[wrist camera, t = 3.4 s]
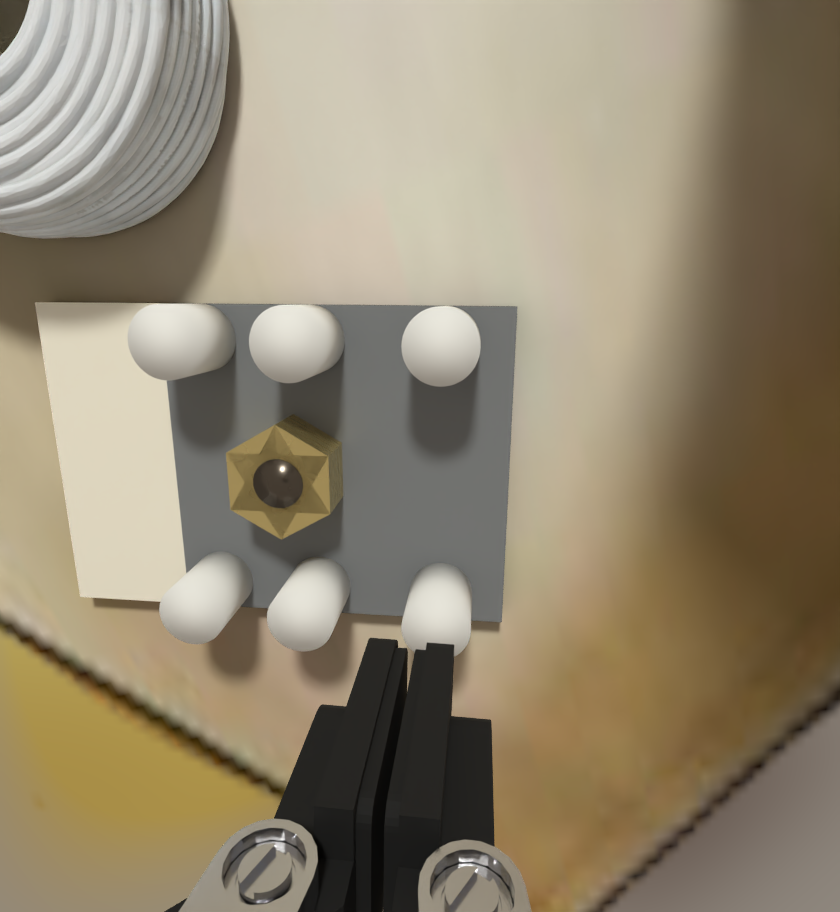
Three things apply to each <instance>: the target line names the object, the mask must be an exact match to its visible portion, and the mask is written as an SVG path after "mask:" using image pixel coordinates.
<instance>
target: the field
mask: <svg viewBox="0 0 840 912" xmlns="http://www.w3.org/2000/svg"><path fill="white" fill-rule="evenodd" d="M35 307H36V313H37V320H38V326H39V333H40V339H41V346H42V352H43V359H44V365H45V372H46V378H47V384H48V391H49V397H50V404H51V410H52V417H53V423H54V430H55V436H56V443H57V449H58V456H59V462H60V469H61V475H62V481H63V488H64V494H65V501H66V507H67V514H68V520H69V527H70V533H71V540H72V546H73V553H74V559H75V565H76V572H77V578H78V585H79V591H80V597H91V598H108V599H124V600H141V601H157V602H160V607H159V612H160V617H161V620H162V622H163V625H164V626H165V628H166V629H167V630H168V631H169V632H170V633H171V634H172V635H173V636H174V637H176V638H177V639H179V640H181V641H183V642H186V643H190V644H203V643H207V642H209V641H211V640H213V639H214V638H215V637H216V636H217V635H218V634H219V633H220V632H221V631H222V629H223V628H224V627H225V625H226V624H227V623H228V622H229V620H230V619H231V618H232V617H233V615H234V614H235V613H236V612H237V610H238V609H239V608H240V607H256V608H269V609H268V612H267V623H268V627H269V629H270V631H271V633H272V635H273V636H274V637H275V639H276V640H277V641H278V642H280V643H281V644H282V645H284V646H285V647H287V648H289V649H292V650H296V651H312V650H315V649H318V648H320V647H321V646H323V645H324V644H325V643H326V642H327V641H328V640H329V638H330V636H331V634H332V632H333V630H334V628H335V625H336V623H337V621H338V619H339V617H340V614H341V613H356V614H372V615H389V616H403V620H402V625H401V631H402V636H403V639H404V641H405V643H406V644H407V646H408V647H409V648H410V649H411V650H412V651H413V652H414V653H415V650H416V649H420V650H426V645H427V642H428V643H441V644H454V656H456V655H458V654H459V653H461V652H462V651H463V650H464V648H465V647H466V646H467V644H468V642H469V639H470V634H471V621H488V622H502V605H503V585H504V565H505V545H506V524H507V504H508V484H509V464H510V444H511V423H512V403H513V383H514V363H515V343H516V322H517V307H516V306H408V305H299V304H190V303H82V302H35ZM292 414H294V415H296V416H298V417H299V418H301V419H303V420H304V421H306V422H308V423H309V424H311V425H313V426H314V427H316V428H318V429H319V430H321V431H323V432H325V433H326V434H328V435H330V436H331V437H333V438H335V439H336V440H338V441H340V442H341V443H342V466H343V497H342V498H341V500H340V501H339V503H338V504H337V505H336V507H335V508H334V510H333V511H332V512H331V514H330V515H328V516H326V517H324V518H322V519H320V520H318V521H316V522H314V523H312V524H310V525H308V526H307V527H305V528H303V529H301V530H299V531H297V532H295V533H293V534H291V535H289V536H287V537H285V538H283V539H282V540H281V539H280V538H278V537H276V536H274V535H273V534H271V533H269V532H268V531H266V530H264V529H262V528H261V527H259V526H257V525H256V524H254V523H252V522H250V521H249V520H247V519H245V518H244V517H242V516H240V515H238V514H237V513H235V512H233V511H232V510H230V499H229V486H228V473H227V461H226V453H227V452H228V451H230V450H232V449H233V448H235V447H237V446H238V445H240V444H242V443H244V442H245V441H247V440H249V439H251V438H252V437H254V436H256V435H258V434H259V433H261V432H263V431H265V430H266V429H268V428H270V427H272V426H273V425H275V424H277V423H278V422H280V421H282V420H284V419H285V418H287V417H289V416H291V415H292Z"/></svg>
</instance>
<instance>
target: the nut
mask: <svg viewBox="0 0 840 912" xmlns="http://www.w3.org/2000/svg"><path fill="white" fill-rule="evenodd" d="M226 461H227V473H228V486H229V499H230V510H232V511H233V512H235V513H237V514H238V515H240V516H242V517H244V518H245V519H247V520H249V521H250V522H252V523H254V524H256V525H257V526H259V527H261V528H262V529H264V530H266V531H268V532H269V533H271V534H273V535H274V536H276V537H278V538H280V539H281V540H282V539H283V538H285V537H287V536H289V535H291V534H293V533H295V532H297V531H299V530H301V529H303V528H305V527H307V526H308V525H310V524H312V523H314V522H316V521H318V520H320V519H322V518H324V517H326V516H328V515H330V514H331V512H332V511H333V510H334V508H335V507H336V505H337V504H338V503H339V501H340V500H341V498H342V497H343V466H342V443H341V442H340V441H338V440H336V439H335V438H333V437H331V436H330V435H328V434H326V433H325V432H323V431H321V430H319V429H318V428H316V427H314V426H313V425H311V424H309V423H308V422H306V421H304V420H303V419H301V418H299V417H298V416H296V415H294V414H292V415H291V416H289V417H287V418H285V419H284V420H282V421H280V422H278V423H277V424H275V425H273V426H272V427H270V428H268V429H266V430H265V431H263V432H261V433H259V434H258V435H256V436H254V437H252V438H251V439H249V440H247V441H245V442H244V443H242V444H240V445H238V446H237V447H235V448H233V449H232V450H230V451H228V452H227V453H226Z"/></svg>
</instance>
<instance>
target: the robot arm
mask: <svg viewBox="0 0 840 912" xmlns="http://www.w3.org/2000/svg"><path fill="white" fill-rule="evenodd" d="M407 662H408V651H407V648H398V641H397V640H391V639H378V638H369V640H368V643H367V646H366V649H365V652H364V655H363V658H362V661H361V664H360V667H359V670H358V673H357V676H356V679H355V682H354V685H353V688H352V691H351V694H350V697H349V700H348V703H347V706H346V707H344V706H333V705H321V706H320V707H319V709H318V711H317V713H316V715H315V718H314V720H313V723H312V725H311V728H310V730H309V732H308V735H307V737H306V740H305V742H304V745H303V747H302V750H301V752H300V755H299V757H298V760H297V762H296V765H295V767H294V770H293V772H292V775H291V777H290V780H289V782H288V785H287V787H286V790H285V792H284V795H283V797H282V800H281V802H280V805H279V807H278V810H277V812H276V815H275V817H274V819H268V820H262V821H258V822H255V823H253V824H251V825H248V826H246V827H244V828H242V829H241V830H239V831H238V832H237V833H235V834H234V835H232V836H231V837H230V838H229V839H228V840H227V841H226V842H225V844H224V845H223V846H222V847H221V848H220V849H219V851H218V852H217V854H216V855H215V857H214V858H213V860H212V861H211V863H210V864H209V866H208V868H207V869H206V871H205V872H204V874H203V875H202V877H201V878H200V880H199V881H198V883H197V884H196V886H195V887H194V889H193V891H192V892H191V894H190V895H189V897H188V898H186V899H185V900H183V901H181V902H180V903H178V904H176V905H175V906H173V907H172V908H170V909H168V910H166V911H165V912H531V908H530V903H529V899H528V895H527V890H526V886H525V884H524V881H523V878H522V876H521V873H520V871H519V870H518V868H517V867H516V866H515V864H514V863H513V862H512V860H511V859H510V858H509V857H508V856H507V855H505V854H504V853H503V852H501V851H500V850H499V849H497V848H496V847H494V810H493V769H492V728H491V720H487V719H476V718H465V717H454V716H451V711H452V689H453V666H454V644H441V643H428V642H427V645H426V650H420V649H416V650H415V654H414V659H413V665H412V670H411V675H410V681H409V686H408V691H407Z"/></svg>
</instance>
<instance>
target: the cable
mask: <svg viewBox="0 0 840 912" xmlns="http://www.w3.org/2000/svg"><path fill="white" fill-rule="evenodd" d="M229 39H230V29H229V11H228V0H30V1H29V5H28V9H27V13H26V16H25V19H24V21H23V23H22V25H21V28H20V30H19V32H18V34H17V35H16V37H15V38H14V40H13V41H12V43H11V44H10V45H9V47H8V48H7V50H6V51H5V52H4V53H3V54H2V55H1V56H0V232H2V233H7V234H11V235H16V236H21V237H29V238H68V237H92V236H99V235H105V234H110V233H113V232H117V231H120V230H123V229H126V228H129V227H132V226H134V225H136V224H139V223H141V222H143V221H145V220H147V219H149V218H150V217H152V216H154V215H155V214H157V213H158V212H160V211H161V210H162V209H164V208H165V207H166V206H167V205H169V204H170V203H171V202H172V201H173V200H174V199H176V198H177V197H178V196H179V195H180V194H181V193H182V192H183V191H184V189H185V188H186V187H187V186H188V185H189V184H190V182H191V181H192V180H193V178H194V177H195V176H196V174H197V173H198V171H199V170H200V168H201V167H202V165H203V164H204V162H205V160H206V158H207V156H208V154H209V152H210V150H211V147H212V145H213V143H214V140H215V138H216V135H217V132H218V129H219V125H220V120H221V116H222V111H223V106H224V100H225V89H226V74H227V65H228V55H229Z"/></svg>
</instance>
